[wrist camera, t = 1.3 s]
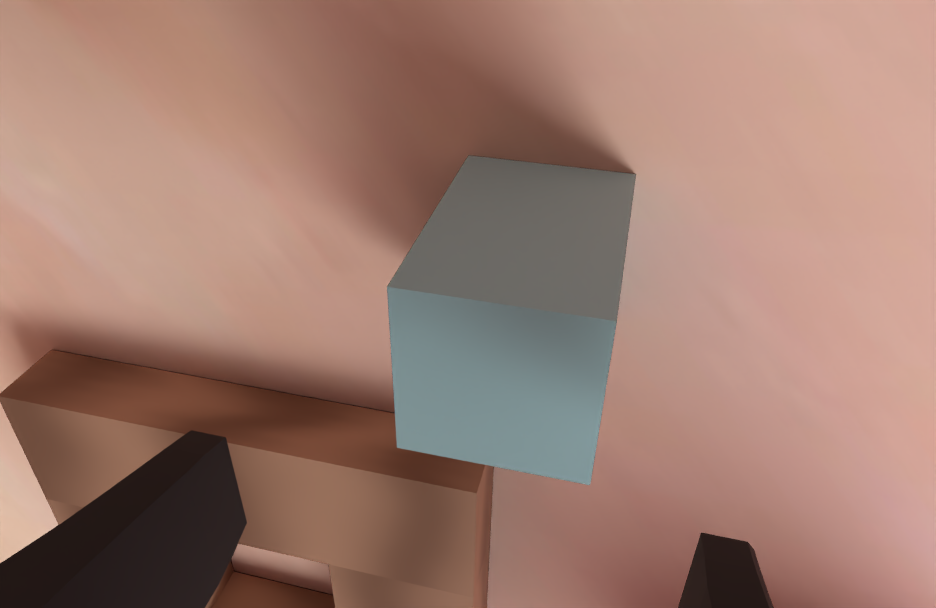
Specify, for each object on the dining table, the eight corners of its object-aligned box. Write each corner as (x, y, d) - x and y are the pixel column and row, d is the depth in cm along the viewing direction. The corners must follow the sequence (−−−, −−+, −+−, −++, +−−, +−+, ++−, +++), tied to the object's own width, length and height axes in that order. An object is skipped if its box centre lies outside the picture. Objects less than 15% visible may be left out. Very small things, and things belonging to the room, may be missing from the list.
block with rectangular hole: (495, 431, 22) (476, 493, 20) (482, 696, 31) (468, 756, 29) (51, 349, 25) (-3, 395, 23) (156, 612, 34) (124, 662, 32)
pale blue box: (636, 173, 17) (616, 321, 12) (614, 314, 19) (590, 485, 14) (468, 155, 17) (386, 286, 13) (466, 292, 20) (397, 447, 15)
